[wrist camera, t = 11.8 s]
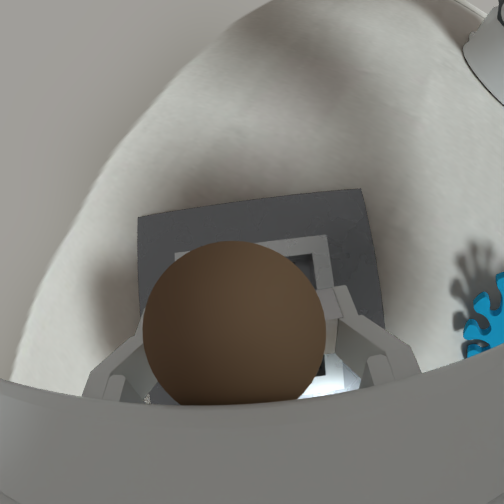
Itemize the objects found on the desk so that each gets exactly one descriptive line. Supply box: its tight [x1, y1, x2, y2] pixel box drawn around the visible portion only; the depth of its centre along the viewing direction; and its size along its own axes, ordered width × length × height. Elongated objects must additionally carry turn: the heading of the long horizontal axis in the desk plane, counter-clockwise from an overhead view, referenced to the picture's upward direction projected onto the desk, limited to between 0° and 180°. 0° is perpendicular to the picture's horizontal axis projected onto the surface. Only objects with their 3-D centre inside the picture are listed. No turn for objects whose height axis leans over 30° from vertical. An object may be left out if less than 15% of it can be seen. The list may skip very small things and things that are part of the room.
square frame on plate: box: [138, 189, 385, 405], centre depth 18 cm, size 16×16×3 cm
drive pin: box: [142, 241, 326, 405], centre depth 11 cm, size 4×4×10 cm
